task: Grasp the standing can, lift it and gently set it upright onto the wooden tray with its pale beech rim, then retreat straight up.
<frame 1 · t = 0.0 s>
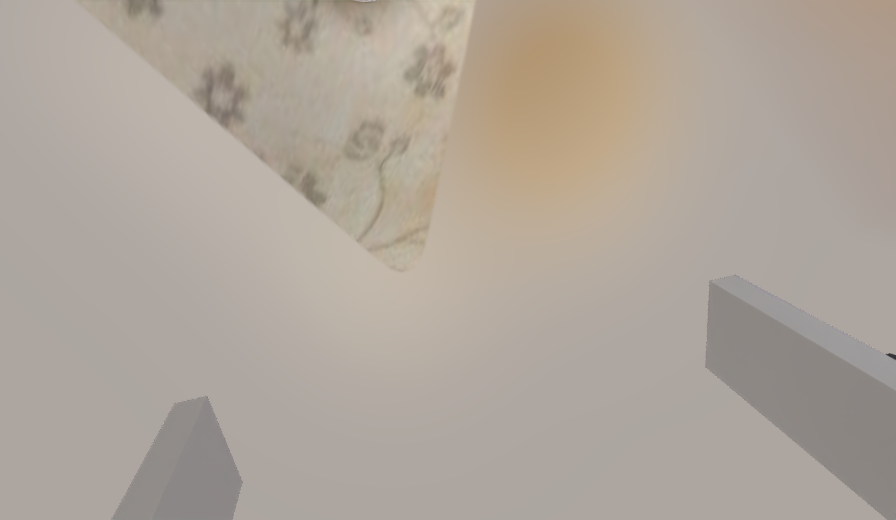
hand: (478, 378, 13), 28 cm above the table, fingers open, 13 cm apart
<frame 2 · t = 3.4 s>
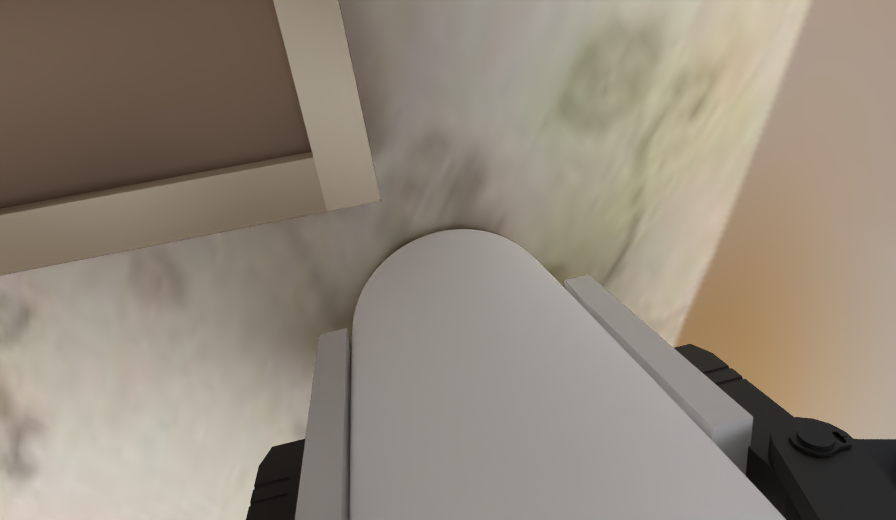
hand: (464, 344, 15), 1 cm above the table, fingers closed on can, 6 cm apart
can: (453, 318, 16), on the table, touching gripper
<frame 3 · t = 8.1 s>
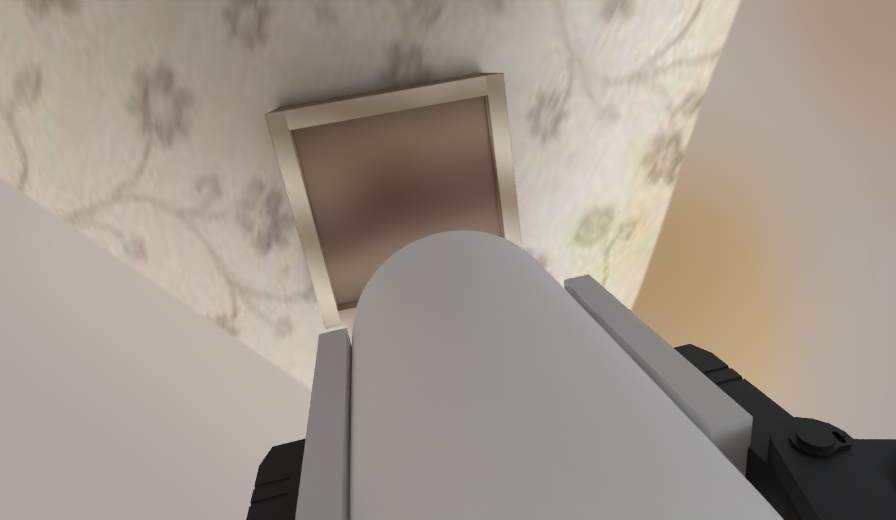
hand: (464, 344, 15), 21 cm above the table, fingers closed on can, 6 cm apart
can: (453, 319, 16), point 19 cm above the table, touching gripper
wooden tray: (401, 190, 34), on the table
when the fingers open (6 cm above the table, at t = 12.7 s): can stays where it is, resting on wooden tray.
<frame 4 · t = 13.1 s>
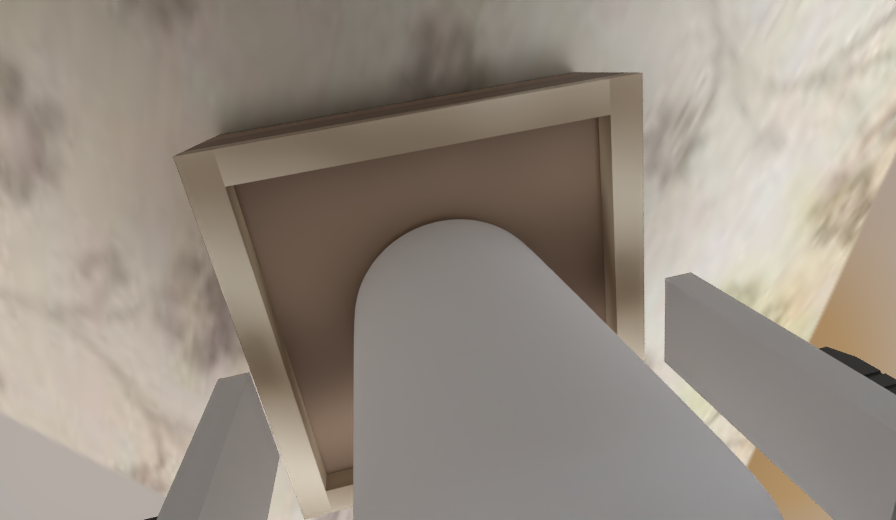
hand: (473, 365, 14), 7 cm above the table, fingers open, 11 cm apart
can: (450, 305, 17), point 4 cm above the table, touching wooden tray
wooden tray: (433, 266, 20), on the table
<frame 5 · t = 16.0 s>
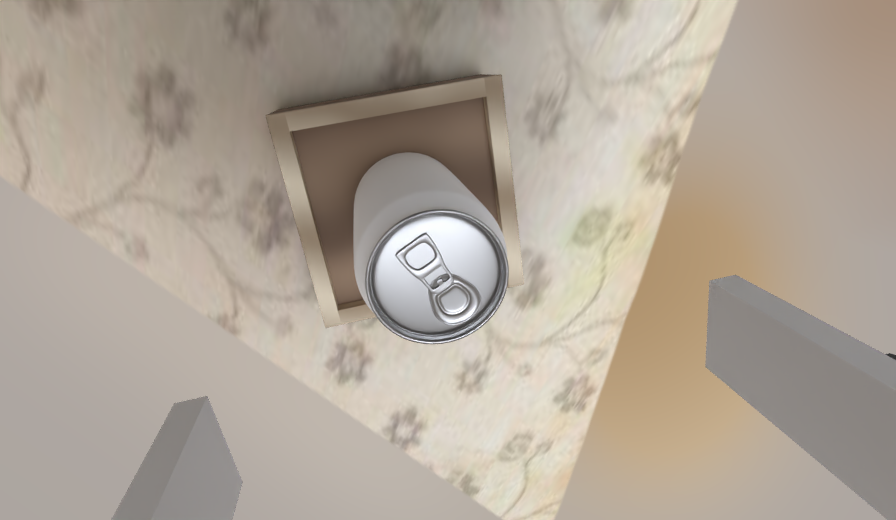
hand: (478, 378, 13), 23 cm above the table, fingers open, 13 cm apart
can: (407, 203, 30), point 4 cm above the table, touching wooden tray
wooden tray: (401, 191, 34), on the table
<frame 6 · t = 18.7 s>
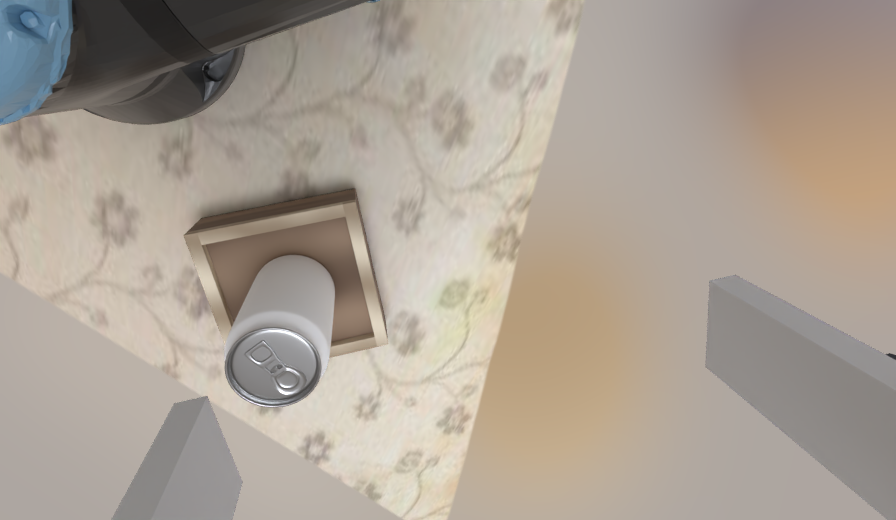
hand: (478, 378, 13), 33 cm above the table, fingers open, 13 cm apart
can: (295, 288, 42), point 4 cm above the table, touching wooden tray
wooden tray: (299, 272, 45), on the table
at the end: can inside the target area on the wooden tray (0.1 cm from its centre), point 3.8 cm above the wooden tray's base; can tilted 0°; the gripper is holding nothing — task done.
